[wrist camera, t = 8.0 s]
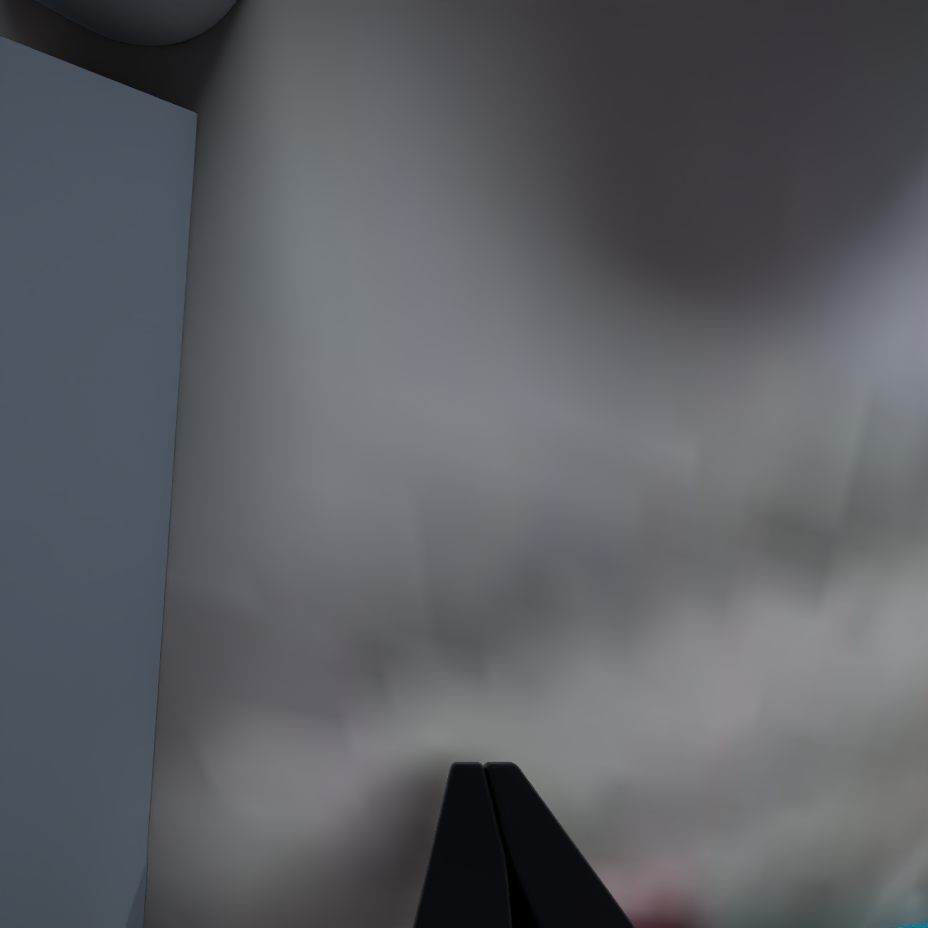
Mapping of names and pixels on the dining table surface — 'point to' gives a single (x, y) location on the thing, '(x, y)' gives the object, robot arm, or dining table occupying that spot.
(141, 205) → the pale blue flat bar
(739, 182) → the dining table surface
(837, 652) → the dining table surface
